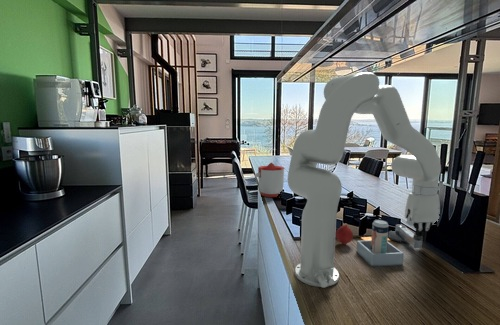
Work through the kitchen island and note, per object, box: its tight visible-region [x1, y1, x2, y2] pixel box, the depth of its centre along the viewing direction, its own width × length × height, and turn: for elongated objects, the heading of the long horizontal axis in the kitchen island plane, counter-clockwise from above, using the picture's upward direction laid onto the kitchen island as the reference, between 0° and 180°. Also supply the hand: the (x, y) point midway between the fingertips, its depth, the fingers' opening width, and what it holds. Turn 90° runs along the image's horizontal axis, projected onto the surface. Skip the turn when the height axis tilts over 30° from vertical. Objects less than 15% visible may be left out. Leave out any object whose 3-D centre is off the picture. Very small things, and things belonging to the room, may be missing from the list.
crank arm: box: [394, 224, 423, 249], centre depth 103 cm, size 15×4×4 cm, turn 177°
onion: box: [335, 223, 354, 246], centre depth 103 cm, size 6×6×8 cm
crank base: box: [360, 230, 409, 244], centre depth 108 cm, size 8×19×2 cm, turn 96°
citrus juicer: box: [254, 162, 285, 198], centre depth 169 cm, size 16×17×20 cm
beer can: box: [370, 219, 390, 254], centre depth 93 cm, size 5×5×12 cm
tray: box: [355, 240, 405, 268], centre depth 93 cm, size 10×10×4 cm
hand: (420, 239), depth 101 cm, fingers closed
